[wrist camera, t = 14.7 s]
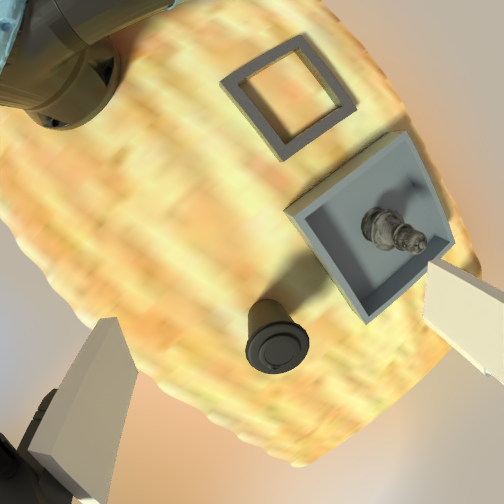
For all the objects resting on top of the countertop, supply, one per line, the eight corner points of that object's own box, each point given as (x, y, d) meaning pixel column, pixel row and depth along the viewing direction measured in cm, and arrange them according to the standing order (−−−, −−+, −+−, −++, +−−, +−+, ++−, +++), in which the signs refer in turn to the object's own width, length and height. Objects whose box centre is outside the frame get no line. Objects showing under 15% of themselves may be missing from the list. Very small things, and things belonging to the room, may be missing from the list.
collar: (219, 85, 33) (219, 81, 31) (295, 39, 32) (299, 34, 30) (279, 162, 37) (283, 161, 35) (351, 111, 36) (357, 109, 34)
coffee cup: (247, 344, 44) (256, 386, 35) (231, 300, 42) (237, 338, 32) (297, 328, 45) (317, 366, 35) (285, 283, 42) (305, 316, 33)
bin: (283, 210, 39) (292, 217, 34) (387, 132, 38) (406, 130, 33) (352, 310, 45) (366, 325, 40) (436, 235, 44) (455, 243, 39)
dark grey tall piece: (357, 208, 39) (406, 226, 28) (390, 202, 40) (444, 217, 28) (360, 248, 41) (407, 277, 30) (392, 240, 41) (442, 265, 30)
